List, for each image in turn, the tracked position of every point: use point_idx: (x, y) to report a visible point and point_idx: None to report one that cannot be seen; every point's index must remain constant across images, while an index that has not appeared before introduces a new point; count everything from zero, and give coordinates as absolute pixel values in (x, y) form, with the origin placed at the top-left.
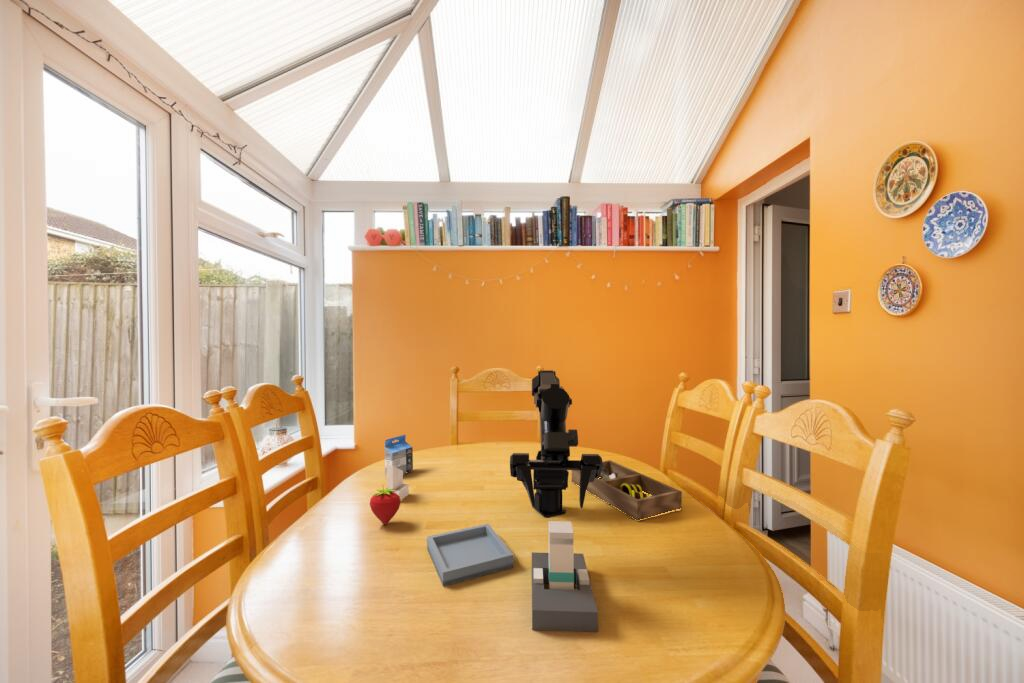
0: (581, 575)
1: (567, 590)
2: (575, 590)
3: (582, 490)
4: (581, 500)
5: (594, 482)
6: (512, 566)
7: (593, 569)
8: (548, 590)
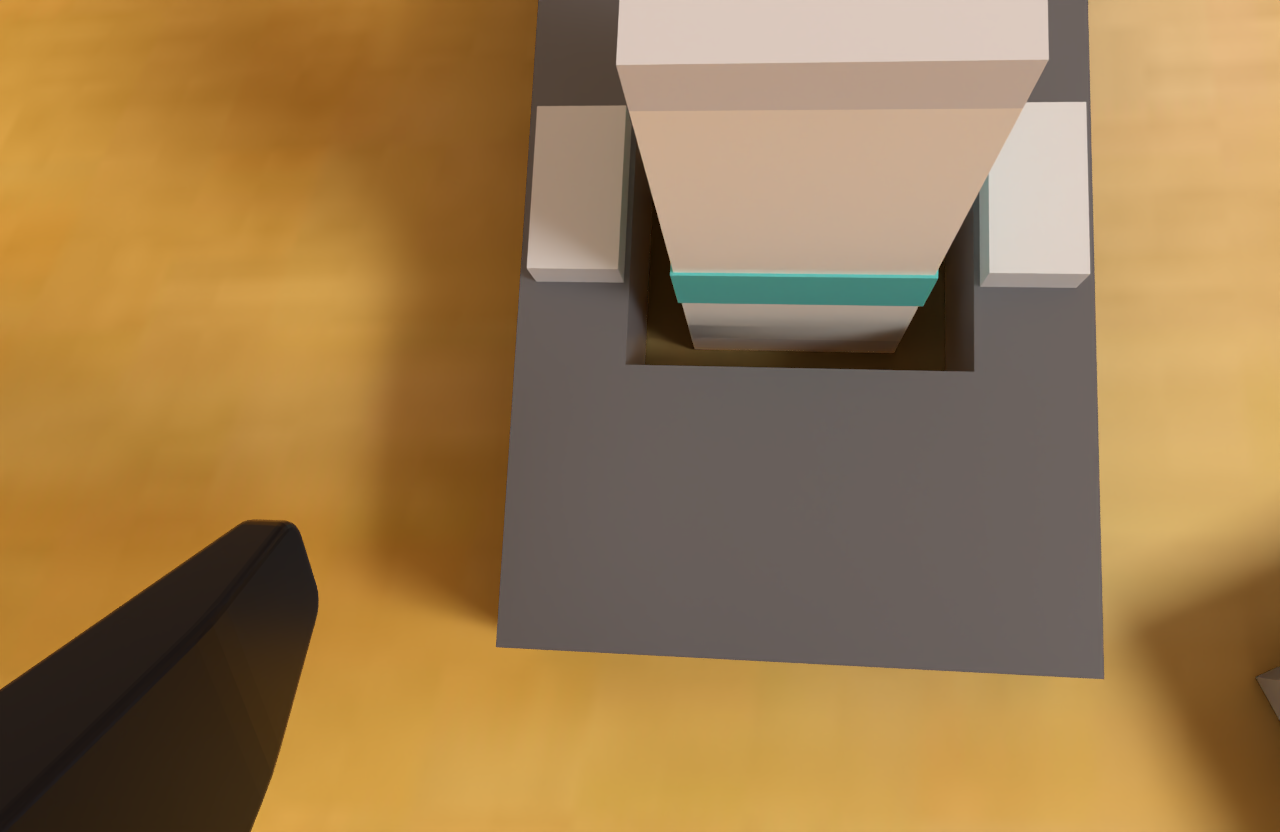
0: (596, 172)
1: None
2: None
3: (16, 748)
4: (213, 585)
5: None
6: (1271, 673)
7: (435, 637)
8: None
